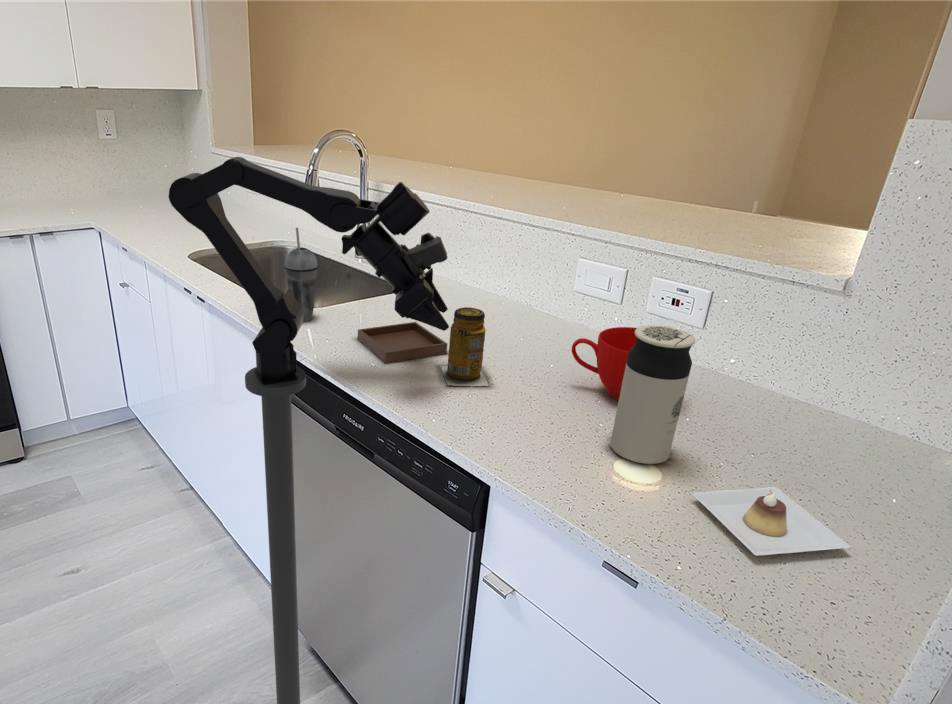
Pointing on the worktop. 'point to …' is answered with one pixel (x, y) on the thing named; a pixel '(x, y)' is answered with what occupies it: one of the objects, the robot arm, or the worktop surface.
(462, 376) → the condiment
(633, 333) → the ceramic cup
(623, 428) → the travel mug
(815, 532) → the dessert
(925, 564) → the worktop surface
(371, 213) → the robot arm
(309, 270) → the beverage cup
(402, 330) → the tray
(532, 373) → the worktop surface
